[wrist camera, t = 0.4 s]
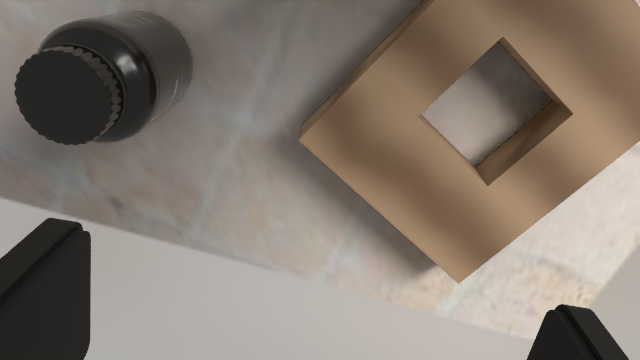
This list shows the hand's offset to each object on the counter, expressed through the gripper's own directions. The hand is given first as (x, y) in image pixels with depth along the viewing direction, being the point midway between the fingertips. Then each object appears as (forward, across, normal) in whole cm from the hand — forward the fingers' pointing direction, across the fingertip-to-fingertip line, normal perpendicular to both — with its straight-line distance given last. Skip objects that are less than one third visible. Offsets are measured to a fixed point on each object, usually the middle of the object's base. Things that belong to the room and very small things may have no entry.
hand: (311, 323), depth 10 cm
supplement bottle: (+28, +13, +2) cm, 31 cm away
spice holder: (+27, -11, 0) cm, 29 cm away
